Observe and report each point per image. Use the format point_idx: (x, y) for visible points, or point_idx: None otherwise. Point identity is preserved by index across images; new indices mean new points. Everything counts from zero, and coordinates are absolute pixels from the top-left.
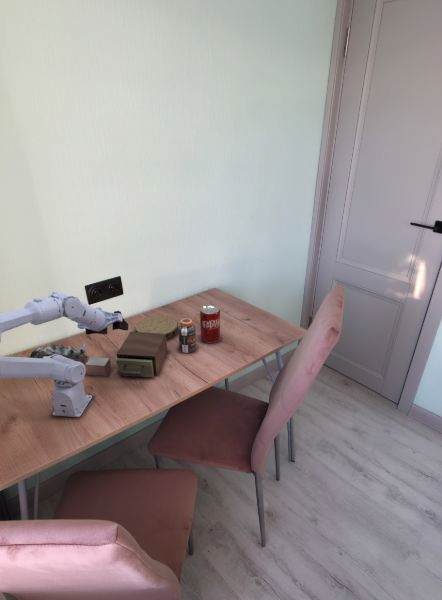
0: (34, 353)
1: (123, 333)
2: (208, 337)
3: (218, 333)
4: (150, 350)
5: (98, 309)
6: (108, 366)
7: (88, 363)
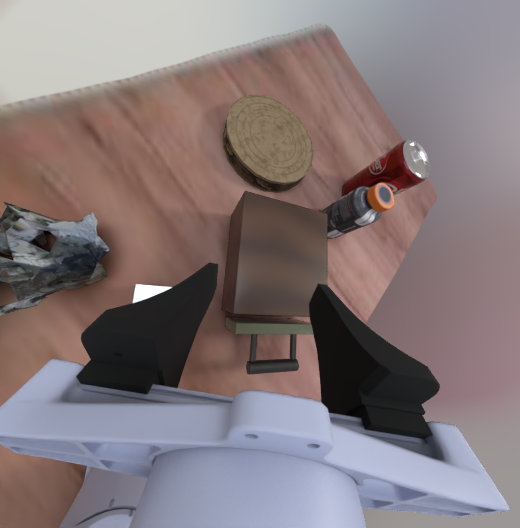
0: None
1: (192, 138)
2: None
3: None
4: (313, 291)
5: (289, 448)
6: None
7: None
